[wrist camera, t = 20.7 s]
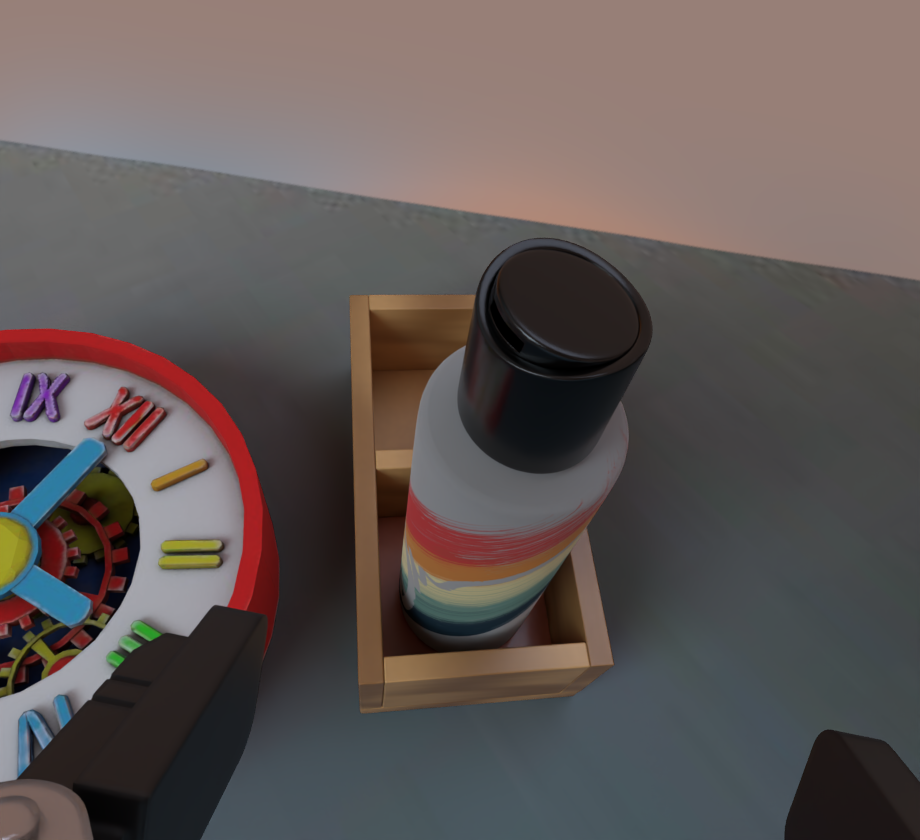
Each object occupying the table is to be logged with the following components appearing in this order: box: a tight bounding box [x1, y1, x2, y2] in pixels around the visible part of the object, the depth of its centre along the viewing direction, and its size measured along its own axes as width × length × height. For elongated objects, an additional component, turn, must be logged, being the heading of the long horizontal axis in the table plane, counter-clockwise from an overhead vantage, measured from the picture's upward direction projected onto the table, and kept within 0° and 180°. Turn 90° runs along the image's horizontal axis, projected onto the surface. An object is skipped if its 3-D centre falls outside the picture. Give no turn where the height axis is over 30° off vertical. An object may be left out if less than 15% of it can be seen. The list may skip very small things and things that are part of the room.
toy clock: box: [0, 329, 279, 782], centre depth 28 cm, size 20×6×20 cm
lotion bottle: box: [399, 238, 652, 653], centre depth 23 cm, size 6×6×20 cm
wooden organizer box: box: [350, 295, 614, 714], centre depth 32 cm, size 9×18×6 cm, turn 6°
